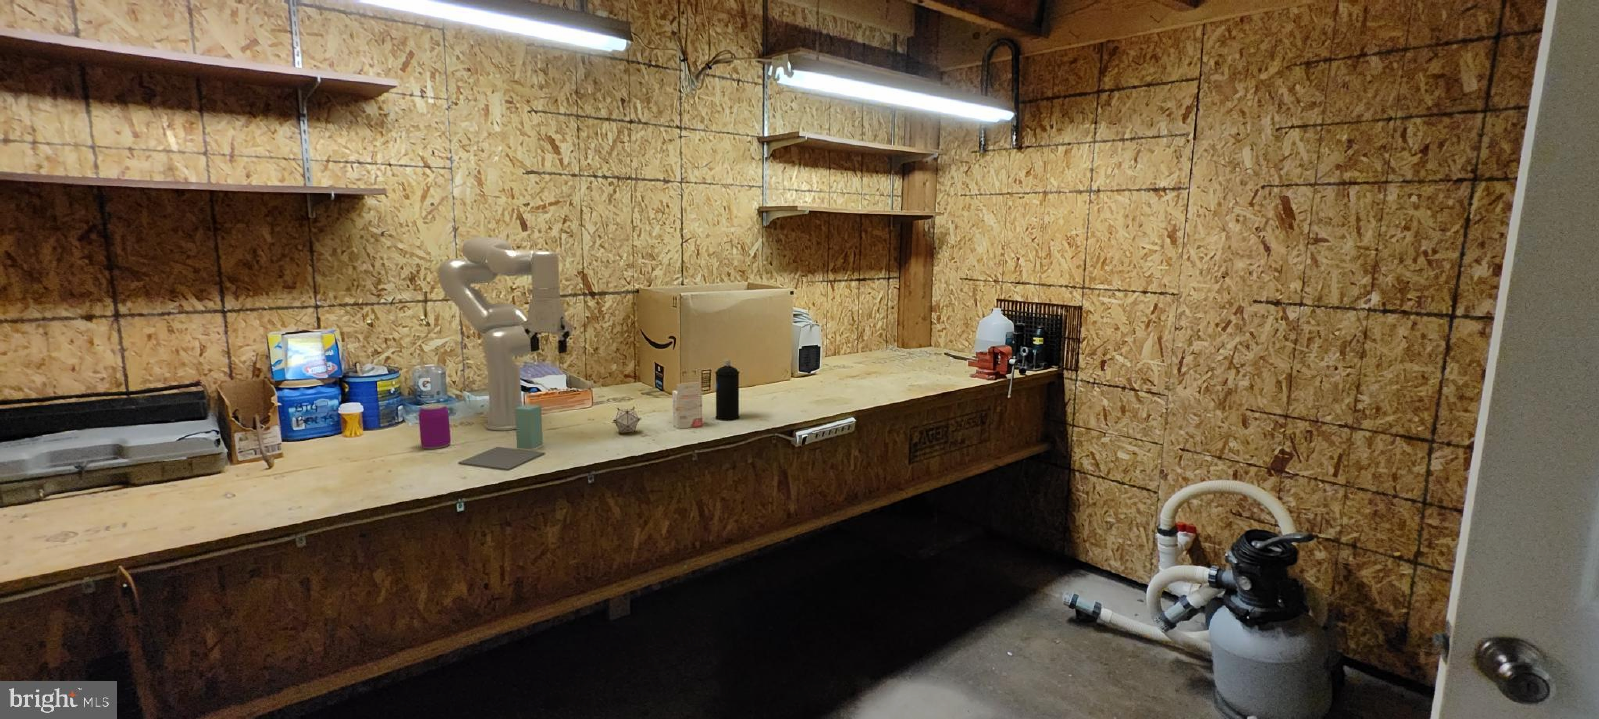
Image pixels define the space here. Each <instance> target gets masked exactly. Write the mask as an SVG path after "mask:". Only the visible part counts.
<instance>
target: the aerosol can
mask: <svg viewBox="0 0 1599 719" xmlns="http://www.w3.org/2000/svg"><path fill="white" fill-rule="evenodd" d="M714 374H715V419H716V420H718V421H724V422H726V421H727V422H729V421H731V422H732V421H736V420H739V419H740V415H739V414H740V413H739V412H740V401H739V399H740V398H739V395H740V371H739V370H738V369H737V368H736V367H734V366H731V359H724V364H723V366H721V367H719V368H718V369H717V370H716V371H715V373H714Z"/></svg>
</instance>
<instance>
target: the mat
mask: <svg viewBox="0 0 1599 719" xmlns="http://www.w3.org/2000/svg"><path fill="white" fill-rule="evenodd" d="M545 454H546V452H543V451H537V450H532V451H530V450H521V449H517V448H511V447H504V446H503V447H501V446H496V447H493V448H491V449H488V450H486V451H483V452H480V453H477V454H475V455H473V456H471V457H468V458H465V459H462V460H460V461H458V462H457V463H458V464H459V465H462V466H463V465H464V466H473V467H479V468H484V469H485V468H487V469H495V470H499V471H502V470H503V471H510V470H513V469H515V468H517V467H520V466H522V465H524V464H526V463H528V462H530V461H533V460H535V459H537V458H540V457H542V456H543V455H545Z"/></svg>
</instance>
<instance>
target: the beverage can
mask: <svg viewBox="0 0 1599 719" xmlns="http://www.w3.org/2000/svg"><path fill="white" fill-rule="evenodd" d="M418 424H419V426H418V427H419V436H420V437H419V438H420V445H421V447H423V448H424V449H426V450H437V449H443V448H446V447H448V446H449V445H450V443H451V429H450V428H451V427H450V426H451V425H450V412H449V409H448V408H447V406H446V404H445V403H442V402H441V403H439V402H434V403H432V402H431V403H427V404H423V405H421V406H420V409H419V413H418Z"/></svg>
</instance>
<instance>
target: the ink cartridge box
mask: <svg viewBox="0 0 1599 719" xmlns="http://www.w3.org/2000/svg"><path fill="white" fill-rule="evenodd" d="M686 387H690V388H686ZM691 387H692V388H691ZM672 417H673V419H672V420H673V427H675V428H676V429H678V430H680V429H681V430H682V429H689V428H696V427H703V423H704V422H703V392H702V383H701V381H697V382H685V383H684V382H683V383H678V384H676V390H672Z"/></svg>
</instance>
